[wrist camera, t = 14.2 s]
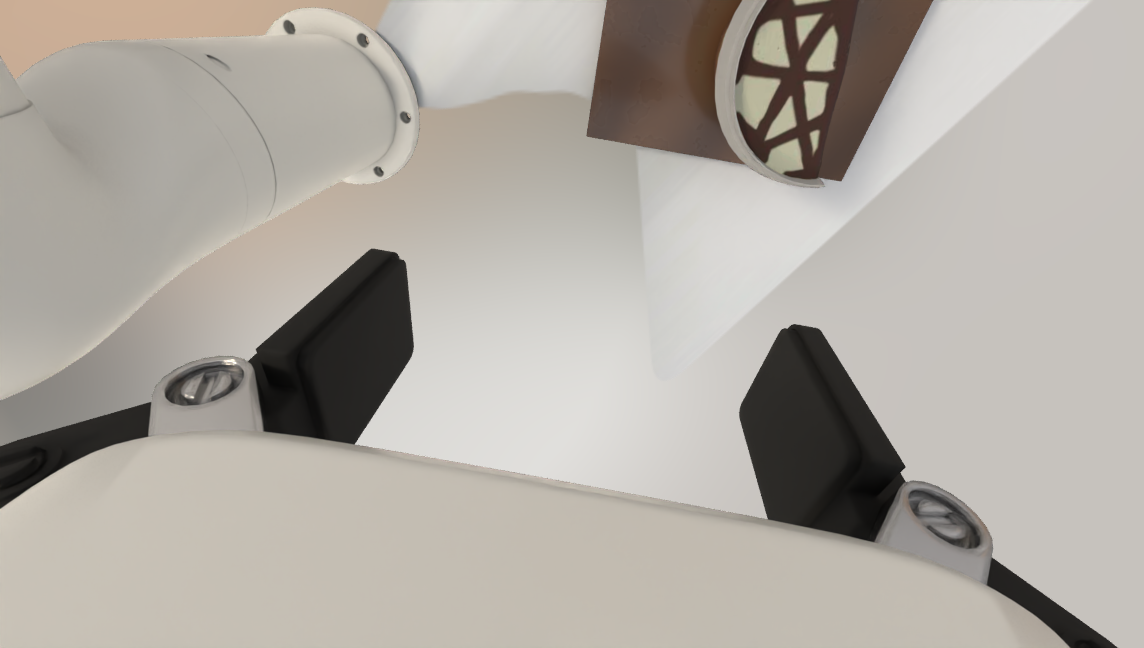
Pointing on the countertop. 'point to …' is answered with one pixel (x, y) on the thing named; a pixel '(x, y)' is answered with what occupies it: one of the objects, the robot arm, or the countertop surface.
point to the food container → (782, 83)
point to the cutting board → (687, 85)
